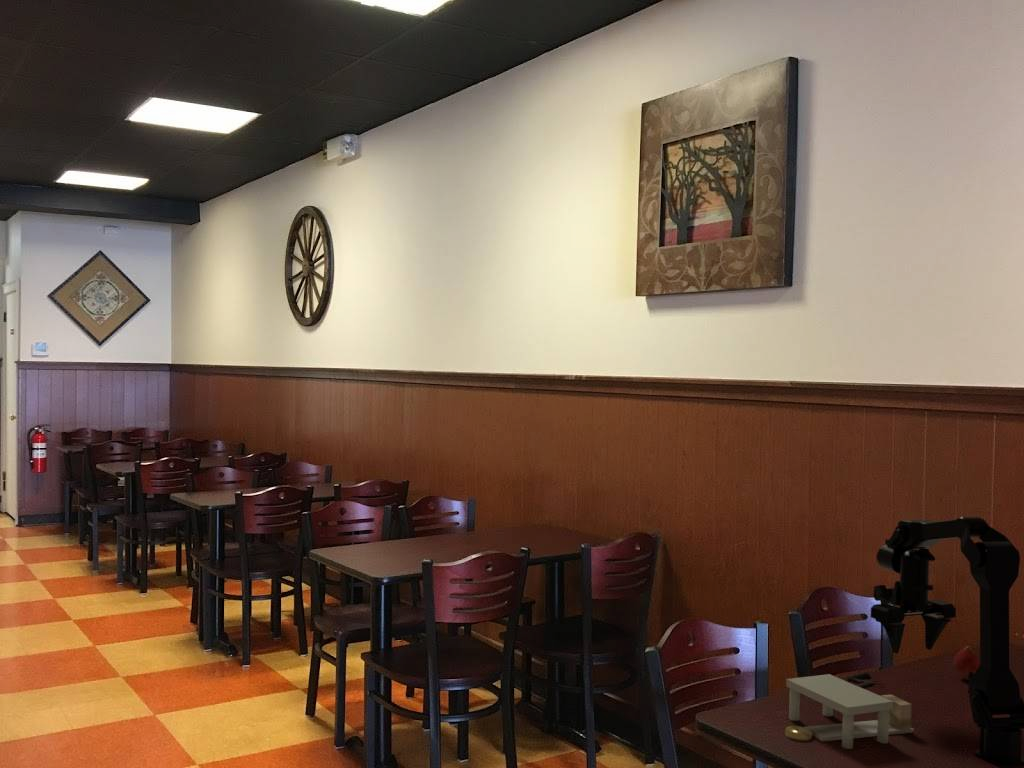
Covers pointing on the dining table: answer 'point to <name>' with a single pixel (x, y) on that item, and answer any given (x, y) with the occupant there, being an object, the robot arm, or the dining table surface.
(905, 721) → the scraper
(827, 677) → the miniature white bench
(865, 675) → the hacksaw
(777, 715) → the dining table surface
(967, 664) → the onion
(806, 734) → the token
